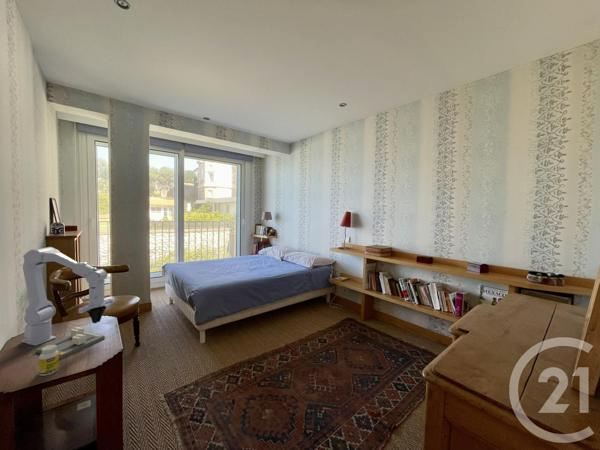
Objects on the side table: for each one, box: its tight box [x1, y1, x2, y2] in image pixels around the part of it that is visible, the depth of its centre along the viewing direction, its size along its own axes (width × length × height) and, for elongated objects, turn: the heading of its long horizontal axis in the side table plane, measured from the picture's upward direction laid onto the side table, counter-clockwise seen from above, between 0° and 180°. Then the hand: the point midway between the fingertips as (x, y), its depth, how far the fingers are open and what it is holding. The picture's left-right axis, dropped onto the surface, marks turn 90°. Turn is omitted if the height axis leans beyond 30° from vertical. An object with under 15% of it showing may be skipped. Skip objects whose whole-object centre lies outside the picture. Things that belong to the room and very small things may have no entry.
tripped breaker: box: [72, 334, 86, 345], centre depth 113 cm, size 4×3×3 cm
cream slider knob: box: [69, 326, 85, 336], centre depth 119 cm, size 4×3×3 cm
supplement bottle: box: [38, 345, 60, 377], centre depth 95 cm, size 5×5×10 cm
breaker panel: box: [35, 330, 105, 360], centre depth 114 cm, size 15×18×2 cm
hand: (96, 322), depth 120 cm, fingers closed
